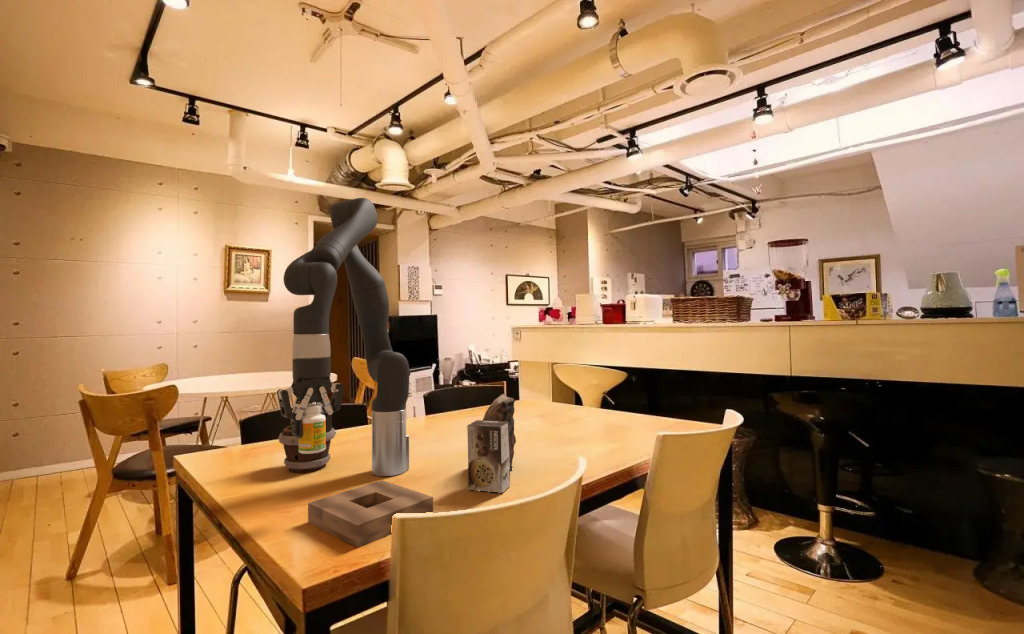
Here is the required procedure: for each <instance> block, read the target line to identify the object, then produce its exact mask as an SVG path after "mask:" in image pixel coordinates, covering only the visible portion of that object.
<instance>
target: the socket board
mask: <svg viewBox="0 0 1024 634" xmlns="http://www.w3.org/2000/svg"><path fill="white" fill-rule="evenodd" d="M426 512H433V513H434V497H433V496H432V495H428V494H425V493H422V492H420V491H416V490H413V489H410V488H408V487H404V486H401V485H398V484H395V483H392V482H389V481H386V480H384V479H381V480H378V481H374V482H371V483H368V484H365V485H361V486H359V487H355V488H352V489H348V490H344V491H341V492H339V493H336V494H335V493H334V494H332V495H329V496H326V497H322V498H319V499H316V500H313V501H309V502H308V503H307V522H308V523H309V524H310V525H313V526H315V527H317V528H318V529H321V530H323V531H324V532H326V533H328V534H330V535H333V537H336V538H338V539H340V540H342V541H344V542H346V543H347V544H349V545H352V546H354V547H355V548H361V547H363V546H365V545H367V544H369V543H372V542H375V541H377V540H379V539H381V538H384V537H388V536H389V535H392V533H391V525H392V516H393V515H394V514H396V513H426Z"/></svg>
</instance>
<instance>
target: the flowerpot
mask: <svg viewBox="0 0 1024 634" xmlns="http://www.w3.org/2000/svg"><path fill="white" fill-rule="evenodd" d="M311 404H313V403H311ZM302 415H303V414H302ZM336 434H337V432H336V431H335V428H333V427H332V428H331V429H330V432H327V433H326V449H325V450H324V451H322V452H319V453H312V454H302V453H300V452H299V438H296V437H295V436H294V435H293V434H292V422H290V425H288V426H286V427H285V428H283V430H282V432H280V433H279V436H278V437H277V439H278V442H279V443H280V444H282V445H283V449H284V453H285V458H284V460H283V464H284V465H285V467H286V468H287V469H288V471H290V472H291V473H307V472H314V471H316V470H317V469H318V470H321V469H323V468H325V467H326V466H327V464H328V463H329V461H330V459H332V458H331V454H330V453H329V451H330V448H331V447H330V446H331V441H332V440H333V439H334V438H335V437H336Z"/></svg>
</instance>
